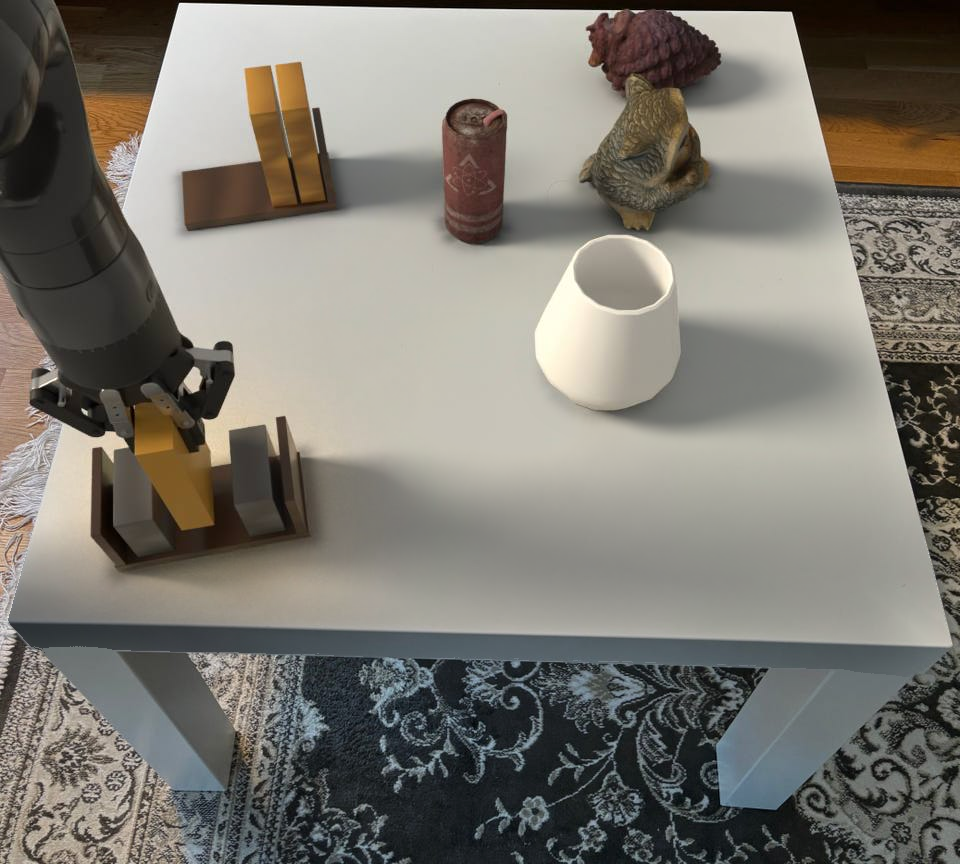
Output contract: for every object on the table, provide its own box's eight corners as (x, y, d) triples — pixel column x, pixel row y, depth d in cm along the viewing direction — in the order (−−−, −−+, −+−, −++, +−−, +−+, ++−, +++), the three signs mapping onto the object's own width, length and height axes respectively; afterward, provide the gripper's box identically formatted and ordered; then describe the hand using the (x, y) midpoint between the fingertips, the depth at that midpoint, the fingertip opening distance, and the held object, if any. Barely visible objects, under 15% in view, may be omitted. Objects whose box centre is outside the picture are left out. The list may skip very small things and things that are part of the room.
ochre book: (181, 530, 71) (134, 455, 60) (178, 456, 74) (134, 372, 64) (214, 525, 71) (173, 449, 61) (210, 450, 74) (171, 367, 64)
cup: (542, 305, 89) (554, 202, 77) (676, 326, 88) (709, 225, 76) (520, 416, 82) (529, 322, 70) (665, 441, 81) (699, 350, 69)
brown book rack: (118, 572, 74) (87, 537, 68) (118, 488, 78) (89, 448, 72) (311, 536, 76) (297, 499, 70) (301, 456, 80) (287, 415, 74)
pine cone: (696, 43, 111) (744, 4, 101) (697, 122, 110) (746, 90, 101) (566, 21, 105) (604, -23, 96) (567, 104, 105) (605, 68, 95)
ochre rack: (186, 230, 94) (148, 131, 82) (184, 178, 98) (147, 76, 87) (338, 209, 95) (320, 109, 84) (329, 158, 99) (311, 56, 88)
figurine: (721, 248, 93) (761, 133, 80) (582, 246, 93) (600, 131, 80) (704, 155, 100) (738, 35, 88) (575, 153, 100) (591, 33, 87)
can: (515, 231, 94) (522, 123, 82) (463, 253, 92) (462, 147, 80) (485, 195, 97) (488, 86, 85) (434, 217, 95) (430, 108, 83)
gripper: (209, 232, 55) (262, 391, 69) (-29, 263, 53) (77, 419, 68) (215, 327, 51) (270, 473, 65) (-42, 364, 49) (74, 506, 64)
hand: (172, 445), depth 66 cm, fingers closed on ochre book, 2 cm apart
